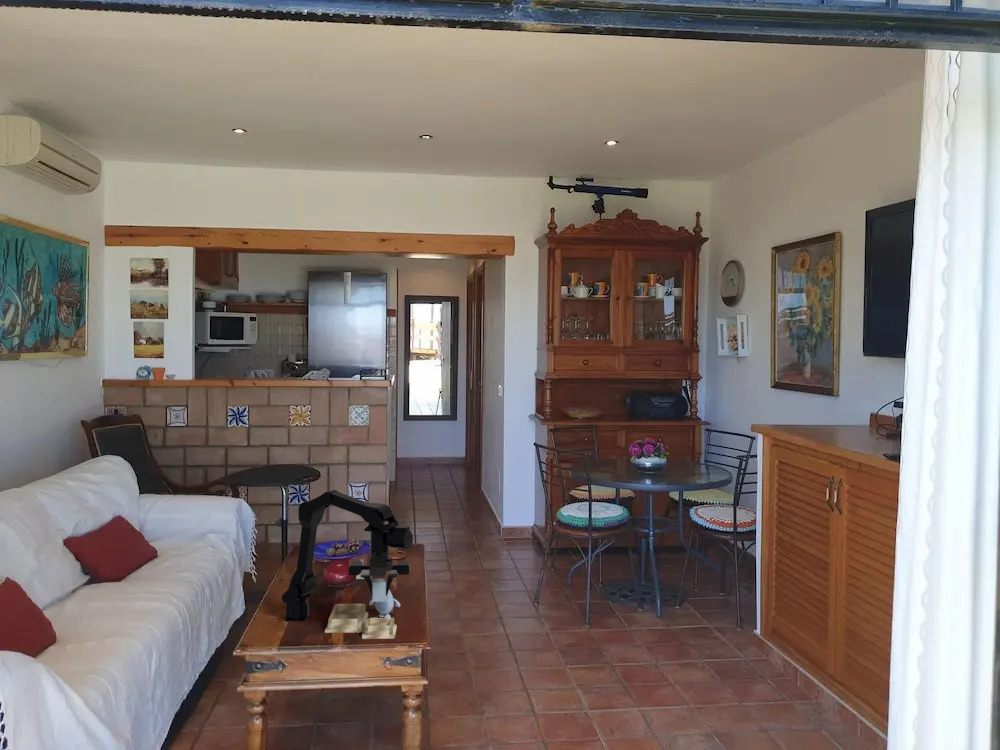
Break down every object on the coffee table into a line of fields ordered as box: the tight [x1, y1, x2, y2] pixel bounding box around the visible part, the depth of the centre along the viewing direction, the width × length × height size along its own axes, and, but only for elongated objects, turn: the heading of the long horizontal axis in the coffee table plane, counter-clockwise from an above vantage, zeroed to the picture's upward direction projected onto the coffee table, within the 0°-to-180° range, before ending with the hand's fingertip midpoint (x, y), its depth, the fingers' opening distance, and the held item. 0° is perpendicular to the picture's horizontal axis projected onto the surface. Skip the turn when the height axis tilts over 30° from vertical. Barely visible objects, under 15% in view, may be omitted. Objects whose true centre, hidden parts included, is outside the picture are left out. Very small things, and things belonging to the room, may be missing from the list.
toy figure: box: [368, 589, 401, 618], centre depth 250 cm, size 11×6×12 cm, turn 81°
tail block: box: [372, 577, 388, 603], centre depth 236 cm, size 4×4×6 cm
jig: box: [324, 603, 398, 640], centre depth 242 cm, size 22×21×4 cm
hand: (379, 595), depth 236 cm, fingers closed on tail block, 4 cm apart
